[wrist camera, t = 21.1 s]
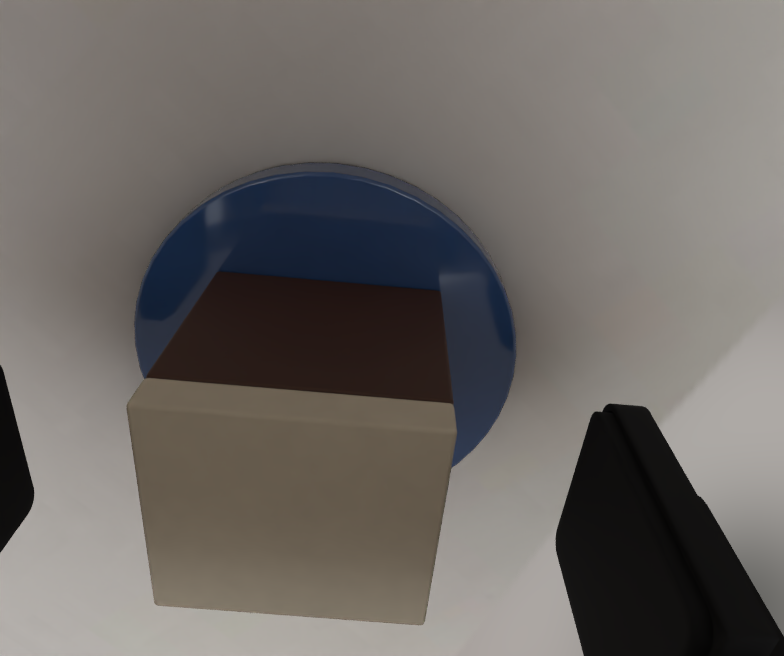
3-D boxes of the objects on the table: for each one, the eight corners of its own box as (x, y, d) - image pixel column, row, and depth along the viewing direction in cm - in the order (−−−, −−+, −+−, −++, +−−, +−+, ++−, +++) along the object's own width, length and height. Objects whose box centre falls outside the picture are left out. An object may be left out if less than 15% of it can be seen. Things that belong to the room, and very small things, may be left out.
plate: (127, 142, 12) (109, 152, 11) (545, 181, 12) (554, 193, 11) (164, 467, 16) (152, 490, 15) (480, 493, 16) (484, 516, 15)
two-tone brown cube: (216, 269, 12) (123, 404, 8) (440, 289, 12) (458, 432, 8) (224, 433, 14) (153, 606, 10) (419, 449, 14) (424, 628, 10)
